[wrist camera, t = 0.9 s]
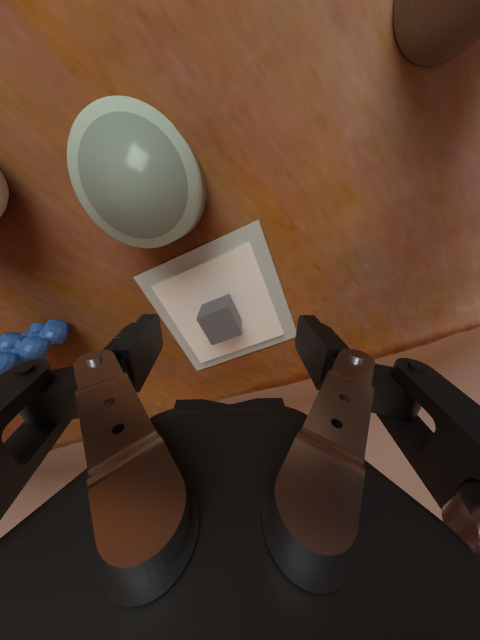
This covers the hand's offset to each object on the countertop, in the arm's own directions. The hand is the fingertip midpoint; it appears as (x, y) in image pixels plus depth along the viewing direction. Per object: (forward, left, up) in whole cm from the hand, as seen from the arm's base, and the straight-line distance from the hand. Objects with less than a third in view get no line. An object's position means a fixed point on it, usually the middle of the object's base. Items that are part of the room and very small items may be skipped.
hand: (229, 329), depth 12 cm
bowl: (+5, -11, -19) cm, 22 cm away
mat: (+5, +6, -19) cm, 20 cm away
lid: (+5, +6, -19) cm, 20 cm away
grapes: (+32, -1, -19) cm, 37 cm away
